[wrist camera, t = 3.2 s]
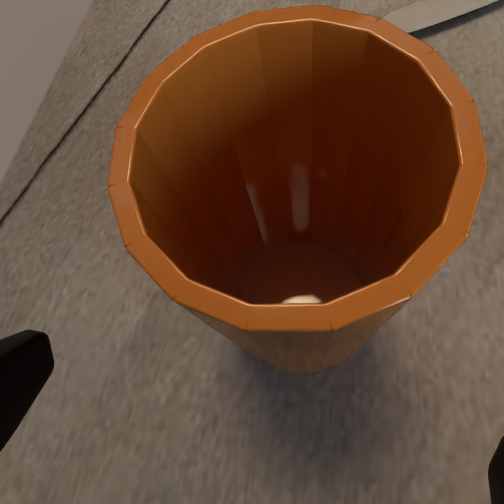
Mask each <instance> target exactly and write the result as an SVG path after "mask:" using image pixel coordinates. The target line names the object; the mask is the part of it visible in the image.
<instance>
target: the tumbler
mask: <svg viewBox="0 0 504 504" xmlns="http://www.w3.org/2000/svg"><path fill="white" fill-rule="evenodd" d="M487 167H488V162H487V157H486V152H485V147H484V142H483V137H482V132H481V127H480V122H479V117H478V112H477V107H476V103H475V102H474V99H473V97H472V96H471V95H470V94H469V92H468V91H467V90H466V88H465V87H464V86H463V84H462V83H461V82H460V81H459V79H458V78H457V77H456V75H455V74H454V73H453V71H452V70H451V69H450V67H449V66H448V65H447V64H446V62H445V61H444V60H443V58H442V57H441V56H440V54H439V53H438V52H437V51H434V48H432V47H431V46H429V45H427V44H425V43H424V42H422V41H420V40H418V39H417V38H415V37H413V36H412V35H410V34H408V33H406V32H405V31H403V30H401V29H399V28H398V27H396V26H394V25H393V24H391V23H389V22H387V21H386V20H384V19H382V18H378V17H377V16H372V15H367V14H361V13H356V12H351V11H346V10H341V9H336V8H331V7H325V6H320V5H317V6H315V5H309V6H299V7H290V8H281V9H272V10H262V11H255V12H253V13H252V12H251V13H248V14H245V15H243V16H241V17H238V18H236V19H233V20H231V21H229V22H226V23H224V24H221V25H219V26H217V27H214V28H212V29H209V30H207V31H205V32H202V33H200V34H197V35H196V36H195V37H192V38H191V39H190V40H189V41H188V42H186V43H185V44H184V45H183V46H182V47H180V48H179V49H178V50H177V51H176V52H174V53H173V54H172V55H171V56H170V57H168V58H167V59H166V60H165V61H164V62H162V63H161V64H160V65H159V66H158V67H156V68H155V69H154V70H153V71H152V72H150V73H149V75H148V76H147V77H146V78H145V80H144V81H143V83H142V85H141V86H140V88H139V90H138V91H137V93H136V95H135V96H134V98H133V100H132V101H131V103H130V105H129V107H128V108H127V110H126V112H125V113H124V115H123V117H122V118H121V120H120V122H119V123H118V125H117V128H116V132H115V138H114V145H113V152H112V158H111V165H110V171H109V178H108V192H109V196H110V199H111V202H112V206H113V209H114V212H115V216H116V219H117V223H118V226H119V229H120V233H121V236H122V240H123V243H124V246H125V247H126V250H127V252H128V253H129V254H130V255H131V256H132V257H133V258H134V259H135V260H136V261H137V263H138V264H139V265H140V266H141V267H142V268H143V269H144V270H145V271H146V272H147V274H148V275H149V276H150V277H151V278H152V279H153V280H154V281H155V282H156V283H157V285H158V286H159V287H160V288H161V289H162V290H163V291H164V292H165V293H166V294H167V295H168V297H169V298H170V299H171V300H173V301H174V302H176V303H177V304H179V305H180V306H182V307H183V308H184V309H186V310H187V311H189V312H190V313H192V314H193V315H195V316H196V317H197V318H199V319H200V320H202V321H203V322H205V323H206V324H207V325H209V326H210V327H212V328H213V329H215V330H216V331H218V332H219V333H220V334H222V335H223V336H225V337H226V338H228V339H229V340H231V341H232V342H233V343H235V344H236V345H238V346H239V347H241V348H242V349H243V350H245V351H246V352H248V353H249V354H251V355H252V356H254V357H255V358H256V359H258V360H259V361H261V362H263V363H265V364H268V365H270V366H272V367H274V368H276V369H279V370H281V371H284V372H287V373H299V374H308V373H320V372H322V371H325V370H327V369H330V368H333V367H335V366H337V365H339V364H341V363H343V362H345V361H347V360H348V359H349V358H350V357H351V356H352V355H353V354H354V353H355V352H356V351H357V350H358V349H359V348H360V347H361V346H362V345H363V344H365V343H366V342H367V341H368V340H369V339H370V338H371V337H372V336H373V335H374V334H375V333H376V332H377V331H378V330H379V329H380V328H381V327H382V326H383V325H384V324H385V323H386V322H387V321H388V320H389V319H390V318H392V317H393V316H394V315H395V314H396V313H397V312H398V311H399V310H400V309H401V308H402V307H403V306H404V305H405V304H406V303H407V302H408V301H409V300H410V299H411V298H412V297H413V296H414V295H415V294H416V293H417V292H418V291H419V290H420V289H421V288H422V287H423V286H424V285H425V284H426V283H427V282H428V280H429V279H430V278H431V277H432V276H433V275H434V274H435V273H436V272H437V271H438V270H439V269H440V268H441V267H442V265H443V264H444V263H445V262H446V261H447V260H448V259H449V258H450V257H451V256H452V255H453V254H454V253H455V252H456V250H457V249H458V248H459V247H460V246H461V245H462V244H463V243H464V242H465V241H466V238H467V237H468V235H469V232H470V229H471V226H472V222H473V219H474V216H475V212H476V209H477V205H478V202H479V199H480V195H481V192H482V189H483V185H484V182H485V178H486V175H487V172H488V168H487Z"/></svg>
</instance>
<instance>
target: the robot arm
mask: <svg viewBox="0 0 504 504" xmlns="http://www.w3.org/2000/svg"><path fill="white" fill-rule="evenodd" d="M53 368H54V358H53V354H52V349H51V345H50V340H49V337H48V335H47V334H46V333H44V332H39V331H34V330H25V331H22V332H19V333H17V334H14V335H12V336H9V337H6V338H4V339H1V340H0V452H1V450H2V449H3V448H4V446H5V445H6V443H7V442H8V441H9V439H10V438H11V436H12V435H13V433H14V432H15V430H16V429H17V427H18V426H19V424H20V423H21V421H22V420H23V418H24V416H25V415H26V413H27V412H28V410H29V408H30V407H31V405H32V404H33V402H34V401H35V399H36V397H37V396H38V394H39V393H40V391H41V389H42V388H43V386H44V385H45V383H46V381H47V380H48V378H49V377H50V375H51V373H52V371H53ZM488 480H489V487H490V495H491V502H492V504H504V436H503V437H502V439H501V441H500V443H499V445H498V447H497V449H496V451H495V453H494V455H493V457H492V460H491V462H490V464H489V468H488Z"/></svg>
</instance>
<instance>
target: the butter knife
mask: <svg viewBox="0 0 504 504" xmlns="http://www.w3.org/2000/svg"><path fill="white" fill-rule="evenodd" d="M496 1H498V0H421V1H418V2H415V3H413V4H410V5H407V6H404V7H401V8H399V9H397V10H394V11H392V12H390V13H388V14H387V15H386V16H384V17H383V18H382V19H384V20H386V21H387V22H389V23H391V24H393V25H394V26H396V27H398V28H399V29H401V30H403V31H405V32H406V33H410V32H413V31H417V30H420V29H423V28H426V27H429V26H432V25H435V24H438V23H441V22H443V21H446V20H449V19H452V18H454V17H457V16H460V15H463V14H466V13H468V12H471V11H474V10H476V9H479V8H482V7H484V6H487V5H489V4H491V3H493V2H496Z"/></svg>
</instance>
